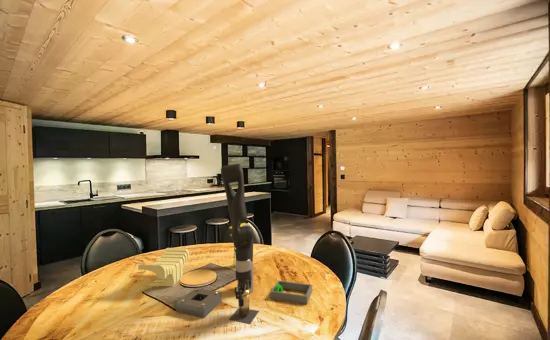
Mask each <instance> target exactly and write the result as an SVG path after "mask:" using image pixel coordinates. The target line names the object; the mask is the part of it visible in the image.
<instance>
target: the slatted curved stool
mask: <svg viewBox="0 0 550 340" xmlns="http://www.w3.org/2000/svg"><path fill="white" fill-rule="evenodd" d="M188 260H190V252H189V250H188V249H187V248H186V247H185V248H184V247H167V248H165V250H164V252H163V253H162V254H161V255H160V257H159V258H158V259H157V260H156V261H155V262H153V263H151V264H137V265H138V267H137V270H140V271H148V272H152V273H153V274H155V275H156V279H155V280H154V281H152V282H151V283H150V284H148V286H149V287H159V286H173V287H174V286H175V285H176V284H177V283H179V282H180V281H181V280H180V278H181V277H182V278H183V275H184V274H183V273H184V272H183V271H184V265H185V263H186V262H187V261H188ZM179 280H180V281H179Z"/></svg>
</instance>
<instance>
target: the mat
mask: <svg viewBox="0 0 550 340" xmlns="http://www.w3.org/2000/svg"><path fill="white" fill-rule="evenodd" d="M259 312H260V310H255V309H250V308H249V314H248V315H244V316H242V315H240V314H239V307H238V308H237V309H236V310H235V311H234V313H233V314H232V315H231V316H230V317H229V318H228V320H229V321H232V322H233V321H234V322H238V323H242V324H243V323H244V324H248V325H251V323H252V322H253V320H254V319H255V318H256V316H257V315H258V314H259Z"/></svg>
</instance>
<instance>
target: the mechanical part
mask: <svg viewBox="0 0 550 340" xmlns="http://www.w3.org/2000/svg"><path fill="white" fill-rule="evenodd" d="M275 285H276V284H275ZM275 285H274V286H275ZM274 291H278V292H283V291H284V289H283V287H282V285H279V284H277V285H276V286H275V289H274Z"/></svg>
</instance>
